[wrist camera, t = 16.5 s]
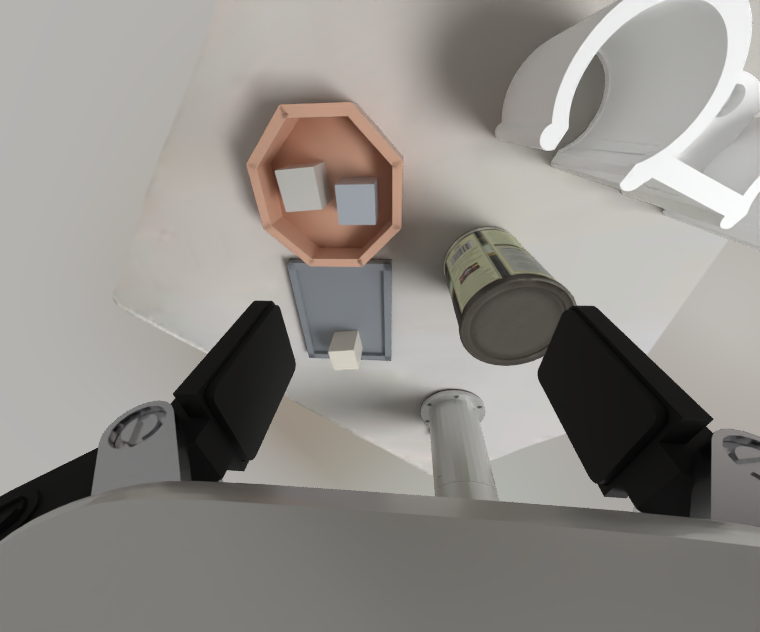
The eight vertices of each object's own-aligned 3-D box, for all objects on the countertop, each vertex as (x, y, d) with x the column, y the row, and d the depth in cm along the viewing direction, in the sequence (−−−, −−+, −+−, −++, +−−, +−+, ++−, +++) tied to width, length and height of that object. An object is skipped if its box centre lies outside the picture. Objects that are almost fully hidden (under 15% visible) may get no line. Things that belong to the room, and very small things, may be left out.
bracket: (760, 134, 27) (965, 140, 17) (666, 225, 32) (780, 270, 23) (550, 5, 23) (656, -81, 13) (484, 133, 29) (525, 139, 19)
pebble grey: (332, 198, 33) (322, 209, 29) (300, 201, 33) (286, 212, 29) (325, 160, 30) (313, 166, 26) (290, 164, 31) (274, 170, 27)
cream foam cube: (362, 348, 47) (358, 368, 43) (340, 349, 47) (334, 370, 43) (358, 330, 44) (353, 350, 41) (334, 331, 45) (327, 351, 41)
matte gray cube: (379, 212, 33) (375, 224, 29) (346, 212, 34) (339, 225, 30) (378, 176, 31) (374, 184, 27) (343, 177, 31) (334, 184, 27)
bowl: (400, 252, 37) (400, 267, 33) (286, 252, 38) (273, 265, 34) (404, 103, 28) (403, 100, 24) (252, 108, 29) (230, 106, 25)
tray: (391, 355, 48) (391, 360, 47) (311, 352, 49) (309, 357, 48) (391, 259, 37) (390, 264, 36) (290, 258, 39) (286, 262, 37)
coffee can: (501, 302, 40) (540, 374, 29) (433, 288, 40) (445, 356, 28) (538, 234, 34) (605, 291, 23) (458, 217, 34) (485, 267, 22)
